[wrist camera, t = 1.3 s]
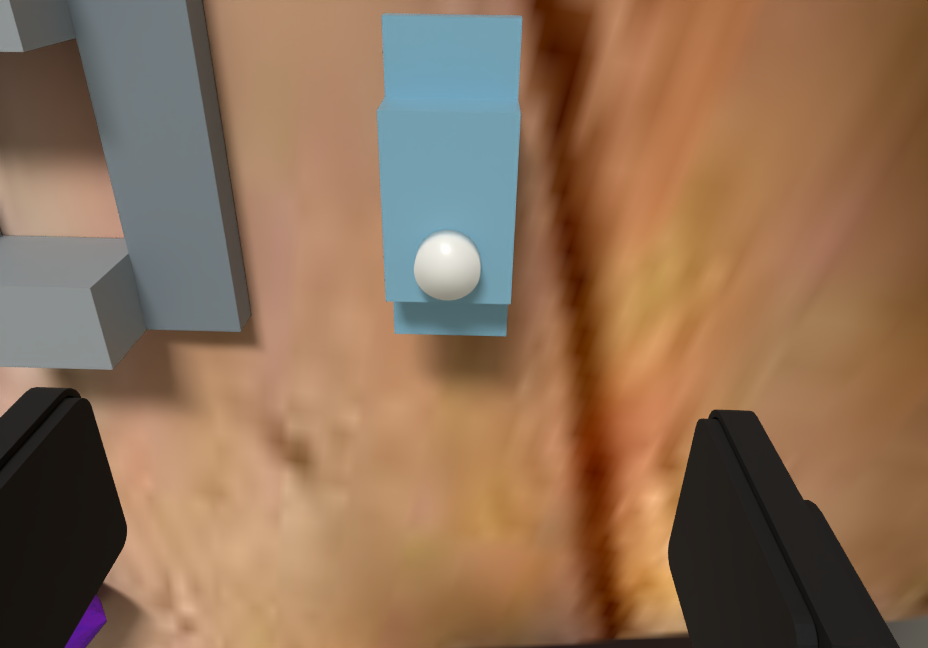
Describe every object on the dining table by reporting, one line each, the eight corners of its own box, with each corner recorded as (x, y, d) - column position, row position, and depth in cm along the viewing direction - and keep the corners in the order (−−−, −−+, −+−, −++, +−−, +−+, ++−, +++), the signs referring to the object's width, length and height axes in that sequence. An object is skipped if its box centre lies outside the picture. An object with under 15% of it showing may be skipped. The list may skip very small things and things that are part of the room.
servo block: (515, 1, 24) (526, 29, 18) (503, 273, 30) (508, 376, 23) (401, -1, 24) (368, 26, 18) (408, 271, 30) (385, 373, 23)
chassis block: (190, -78, 23) (128, -80, 19) (251, 314, 31) (215, 372, 27) (-221, -85, 24) (-366, -87, 20) (-63, 306, 31) (-144, 362, 27)
